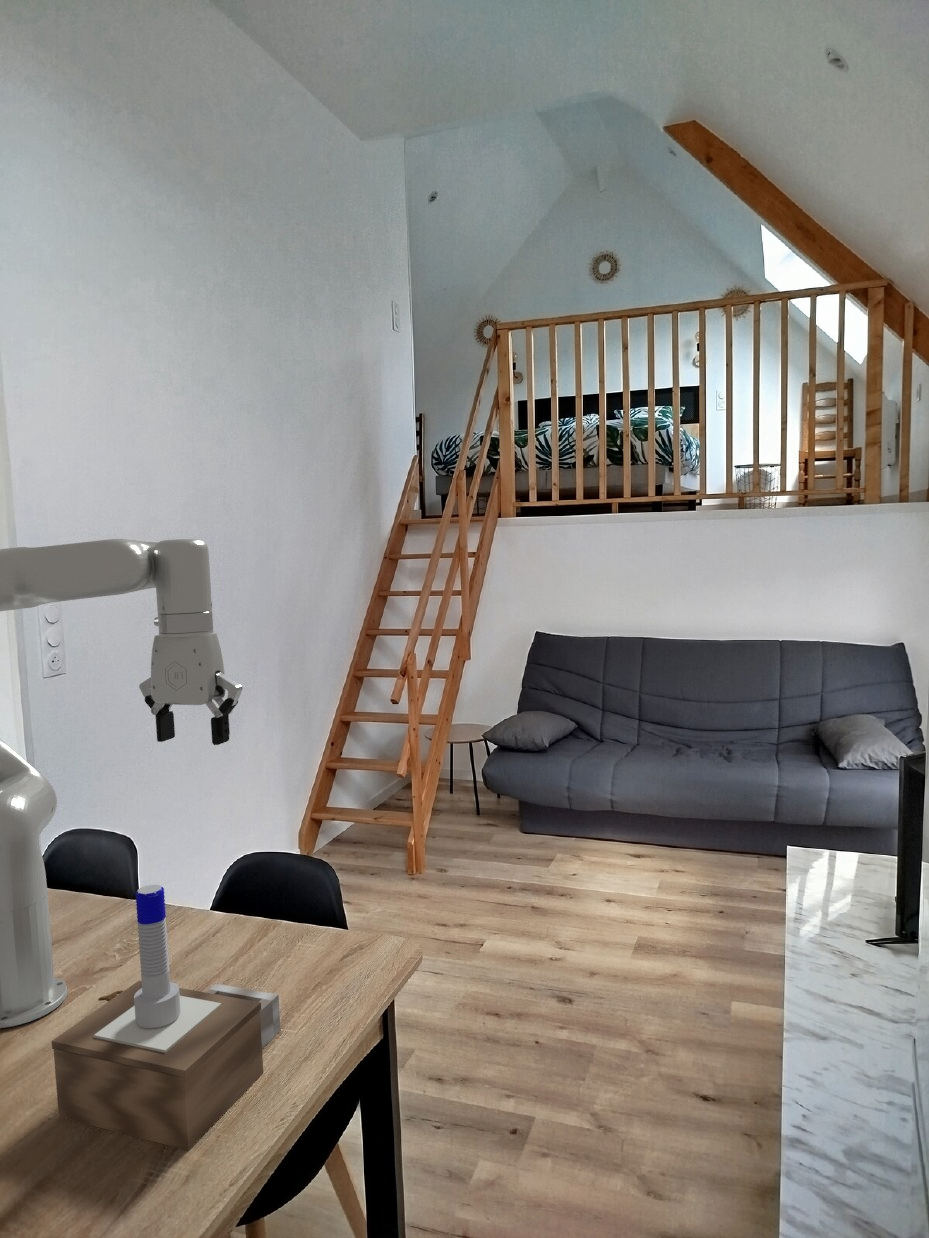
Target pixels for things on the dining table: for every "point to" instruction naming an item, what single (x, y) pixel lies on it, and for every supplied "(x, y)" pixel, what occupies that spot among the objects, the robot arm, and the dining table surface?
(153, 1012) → the bolt
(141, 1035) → the lid mat
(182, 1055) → the wooden box
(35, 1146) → the dining table surface
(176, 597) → the robot arm
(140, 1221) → the dining table surface
